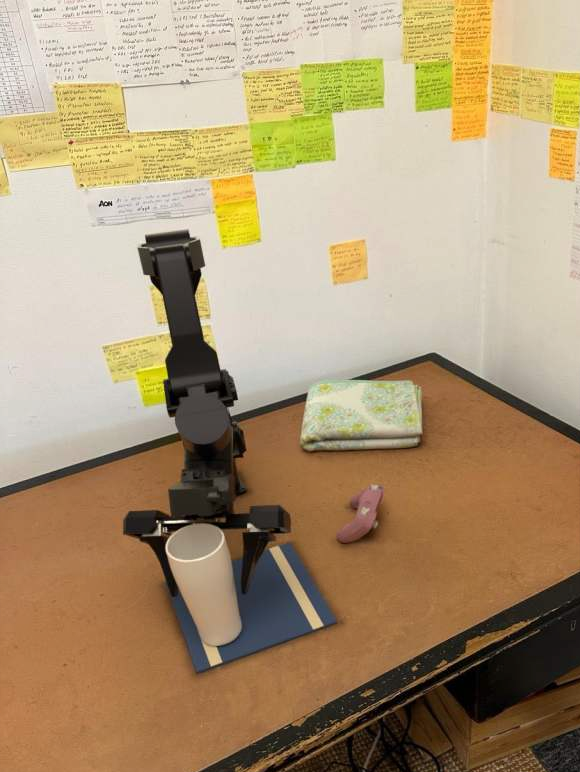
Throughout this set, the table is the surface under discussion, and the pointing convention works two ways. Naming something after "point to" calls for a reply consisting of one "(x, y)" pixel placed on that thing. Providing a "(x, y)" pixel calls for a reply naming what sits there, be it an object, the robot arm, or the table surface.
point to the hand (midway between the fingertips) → (209, 596)
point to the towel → (362, 415)
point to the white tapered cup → (206, 581)
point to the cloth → (262, 610)
